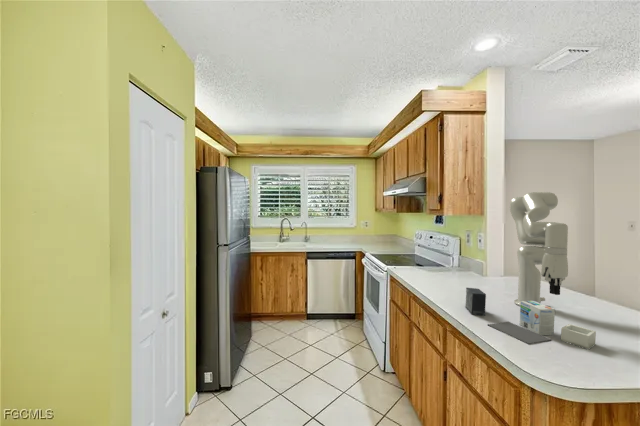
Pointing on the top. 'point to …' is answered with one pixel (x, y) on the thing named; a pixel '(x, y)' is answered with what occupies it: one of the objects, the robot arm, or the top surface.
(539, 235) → the robot arm
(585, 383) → the top surface
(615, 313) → the top surface
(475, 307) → the small box
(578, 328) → the grey tub
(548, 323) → the light bulb box
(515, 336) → the mat
